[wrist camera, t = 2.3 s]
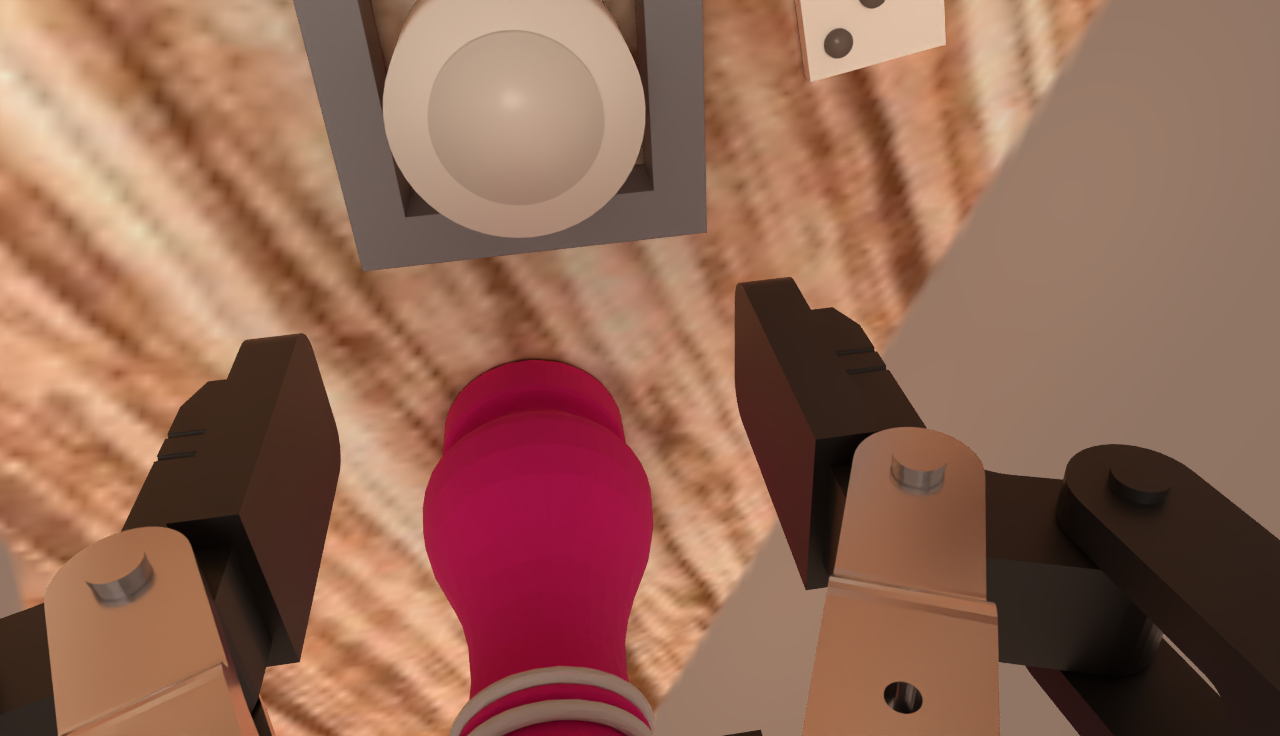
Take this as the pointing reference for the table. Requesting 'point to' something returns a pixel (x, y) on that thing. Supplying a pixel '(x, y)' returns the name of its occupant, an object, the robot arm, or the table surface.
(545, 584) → the pepper mill
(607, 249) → the table surface
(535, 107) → the dome
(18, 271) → the table surface
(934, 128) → the table surface
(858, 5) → the die tile
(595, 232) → the gray square frame
